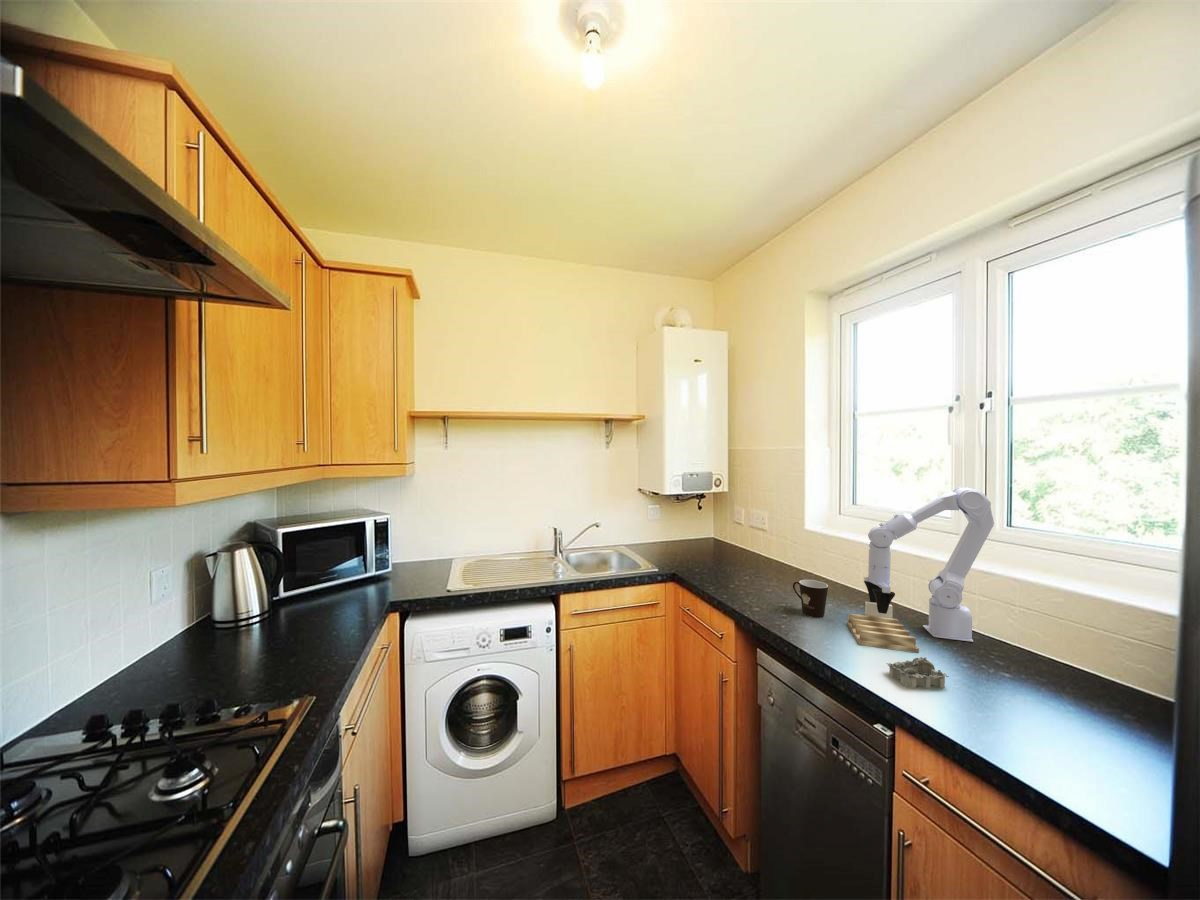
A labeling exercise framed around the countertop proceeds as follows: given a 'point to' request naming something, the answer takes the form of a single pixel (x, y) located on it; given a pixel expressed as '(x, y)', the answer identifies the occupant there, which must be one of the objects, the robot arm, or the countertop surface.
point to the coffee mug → (812, 597)
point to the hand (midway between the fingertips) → (878, 608)
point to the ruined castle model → (910, 673)
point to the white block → (872, 610)
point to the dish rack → (881, 633)
